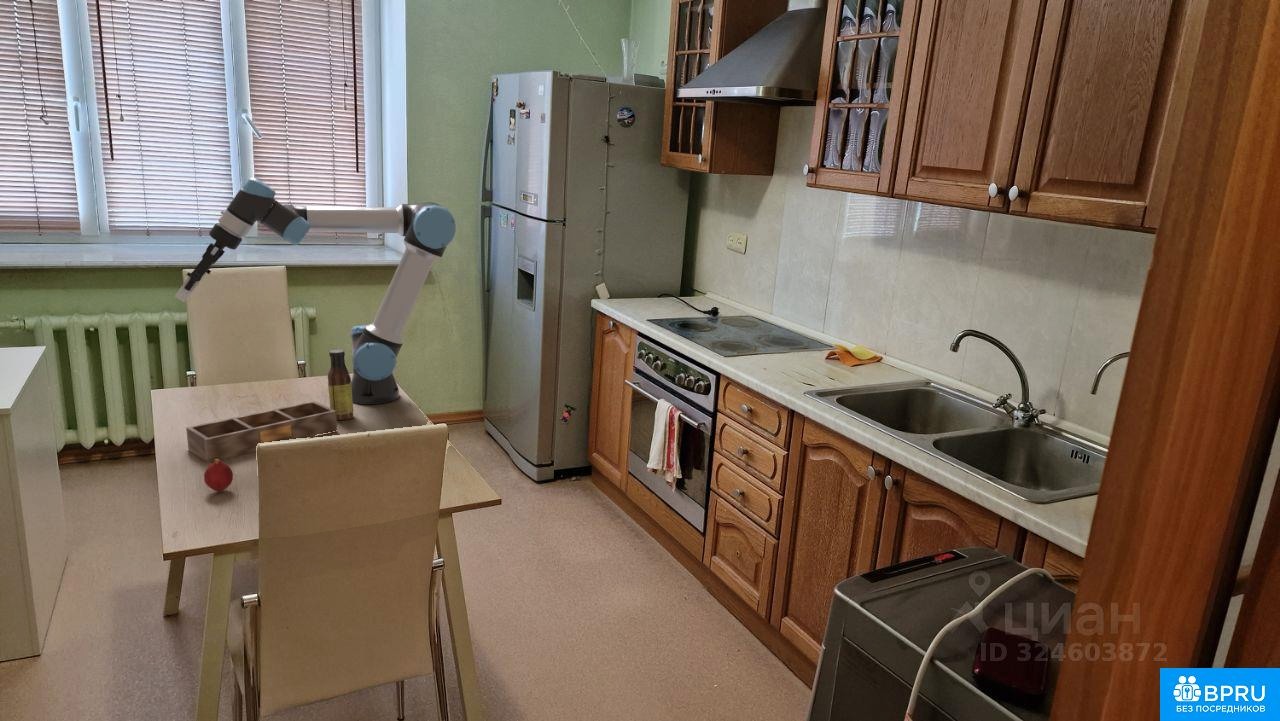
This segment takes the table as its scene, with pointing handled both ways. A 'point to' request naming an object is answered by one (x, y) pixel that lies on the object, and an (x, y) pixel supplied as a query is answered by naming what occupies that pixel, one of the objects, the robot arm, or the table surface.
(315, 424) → the wooden compartment tray
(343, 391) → the sauce bottle
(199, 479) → the table surface
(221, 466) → the onion
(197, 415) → the table surface
